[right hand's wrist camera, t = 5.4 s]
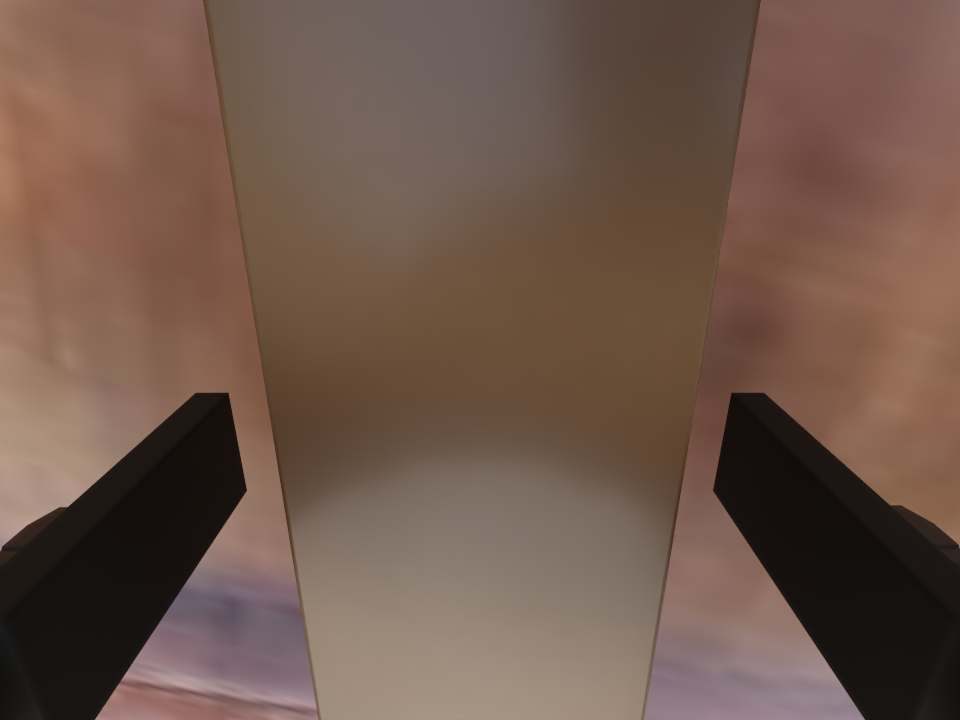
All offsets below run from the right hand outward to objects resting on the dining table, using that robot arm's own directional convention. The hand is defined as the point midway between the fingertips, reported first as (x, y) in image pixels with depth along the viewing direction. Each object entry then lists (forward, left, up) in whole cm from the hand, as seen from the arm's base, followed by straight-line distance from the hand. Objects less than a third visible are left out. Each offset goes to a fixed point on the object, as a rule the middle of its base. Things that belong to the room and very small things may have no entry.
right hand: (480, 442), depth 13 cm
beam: (+30, 0, -2) cm, 30 cm away
